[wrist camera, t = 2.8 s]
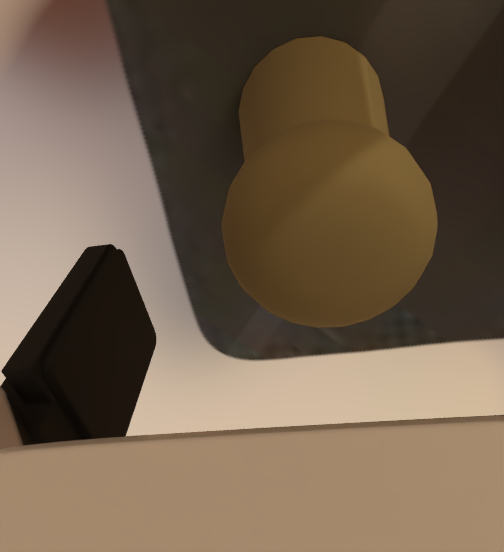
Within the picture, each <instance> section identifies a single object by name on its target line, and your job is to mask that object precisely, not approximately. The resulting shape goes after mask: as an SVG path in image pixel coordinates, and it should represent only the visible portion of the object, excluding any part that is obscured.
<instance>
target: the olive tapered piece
mask: <svg viewBox="0 0 504 552" xmlns="http://www.w3.org/2000/svg"><path fill="white" fill-rule="evenodd" d="M238 112H239V121H240V130H241V138H242V146H243V153H244V161H245V162H244V164H243V165H242V167H241V169H240V170H239V172H238V174H237V175H236V177H235V179H234V180H233V182H232V183H231V185H230V188H229V192H228V195H227V200H226V204H225V209H224V214H223V219H222V224H221V227H222V233H223V240H224V246H225V252H226V257H227V261H228V265H229V266H230V268H231V270H232V272H233V274H234V275H235V277H236V279H237V281H238V283H239V284H240V286H241V288H243V289H244V290H245V291H246V292H247V293H248V294H249V295H250V296H251V297H252V298H253V299H254V300H256V301H257V302H258V303H259V304H260V305H261V306H262V307H263V308H264V309H265V310H266V311H268V312H270V313H272V314H274V315H276V316H278V317H280V318H282V319H284V320H286V321H288V322H291V323H296V324H301V325H306V326H310V327H315V328H317V327H344V326H348V325H351V324H355V323H359V322H363V321H367V320H370V319H372V318H373V317H375V316H377V315H379V314H381V313H383V312H385V311H387V310H388V309H390V308H392V307H394V306H395V305H396V304H397V303H398V302H399V301H400V300H401V299H402V298H403V297H404V296H405V295H406V294H407V293H409V292H410V291H411V290H412V289H413V288H414V286H415V285H416V283H417V282H418V280H419V278H420V276H421V275H422V273H423V271H424V269H425V268H426V266H427V264H428V262H429V261H430V259H431V257H432V255H433V250H434V245H435V239H436V233H437V227H438V224H437V211H436V206H435V202H434V197H433V192H432V188H431V184H430V182H429V181H428V179H427V178H426V176H425V175H424V173H423V172H422V170H421V169H420V167H419V166H418V164H417V163H416V162H415V160H414V159H413V157H412V156H411V154H410V153H409V152H408V150H407V149H406V147H404V146H403V145H401V144H400V143H398V142H397V141H395V140H394V139H392V138H391V137H389V131H388V124H387V117H386V110H385V103H384V98H383V94H382V90H381V86H380V82H379V78H378V75H377V74H376V72H375V71H374V69H373V68H372V66H371V65H370V64H369V62H368V61H367V59H366V58H365V56H363V55H362V54H361V53H359V52H358V51H356V50H355V49H354V48H352V47H351V46H349V45H348V44H347V43H345V42H342V41H338V40H334V39H330V38H326V37H323V36H317V37H307V38H297V39H294V40H292V41H290V42H288V43H286V44H283V45H281V46H279V47H277V48H275V49H273V50H272V51H271V52H270V53H269V54H268V55H267V56H266V57H264V58H263V59H262V60H261V61H260V62H259V63H258V64H257V65H256V66H255V67H254V69H253V71H252V73H251V75H250V76H249V78H248V80H247V82H246V84H245V85H244V87H243V91H242V96H241V101H240V106H239V111H238Z"/></svg>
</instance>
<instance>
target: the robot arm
mask: <svg viewBox="0 0 504 552" xmlns="http://www.w3.org/2000/svg"><path fill="white" fill-rule="evenodd" d="M155 346H156V333H155V330H154V327H153V325H152V322H151V320H150V317H149V315H148V312H147V310H146V308H145V305H144V302H143V300H142V297H141V295H140V292H139V290H138V287H137V284H136V282H135V280H134V277H133V274H132V272H131V269H130V267H129V264H128V262H127V259H126V257H125V254H124V252H123V251H122V250H120V249H116V248H115V247H114V246H113V245H111V244H109V245H101V246H92V247H88V248H87V249H85V251H84V252H83V254H82V255H81V257H80V258H79V259H78V261H77V262H76V264H75V265H74V267H73V268H72V270H71V271H70V272H69V274H68V275H67V277H66V278H65V280H64V281H63V283H62V284H61V286H60V287H59V288H58V290H57V291H56V293H55V294H54V296H53V297H52V298H51V300H50V301H49V303H48V304H47V306H46V307H45V309H44V310H43V312H42V313H41V314H40V316H39V317H38V319H37V320H36V322H35V323H34V324H33V326H32V327H31V329H30V330H29V332H28V333H27V335H26V336H25V338H24V339H23V340H22V342H21V343H20V345H19V346H18V348H17V349H16V351H15V352H14V353H13V355H12V356H11V358H10V359H9V361H8V362H7V364H6V365H5V366H4V368H3V369H2V373H3V374H4V376H5V377H6V379H5V381H4V382H3V384H2V385H1V386H0V552H504V415H494V416H474V417H455V418H434V419H417V420H399V421H381V422H363V423H362V422H361V423H344V424H326V425H308V426H290V427H274V428H273V427H272V428H255V429H240V430H223V431H207V432H191V433H175V434H157V435H141V436H127V437H125V436H126V433H127V430H128V427H129V424H130V421H131V418H132V415H133V412H134V409H135V406H136V403H137V400H138V397H139V394H140V391H141V388H142V385H143V382H144V379H145V376H146V372H147V370H148V367H149V364H150V361H151V358H152V355H153V352H154V349H155Z"/></svg>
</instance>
